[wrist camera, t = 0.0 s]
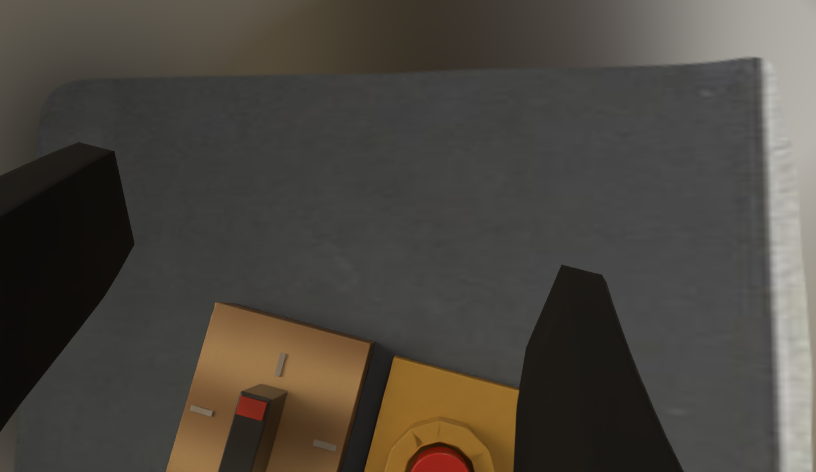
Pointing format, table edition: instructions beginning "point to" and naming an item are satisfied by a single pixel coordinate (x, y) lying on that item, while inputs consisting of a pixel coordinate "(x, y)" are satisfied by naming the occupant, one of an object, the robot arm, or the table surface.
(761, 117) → the table surface
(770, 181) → the table surface
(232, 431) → the black block
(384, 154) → the table surface
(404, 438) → the button block
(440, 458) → the button
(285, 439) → the panel
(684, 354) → the table surface
